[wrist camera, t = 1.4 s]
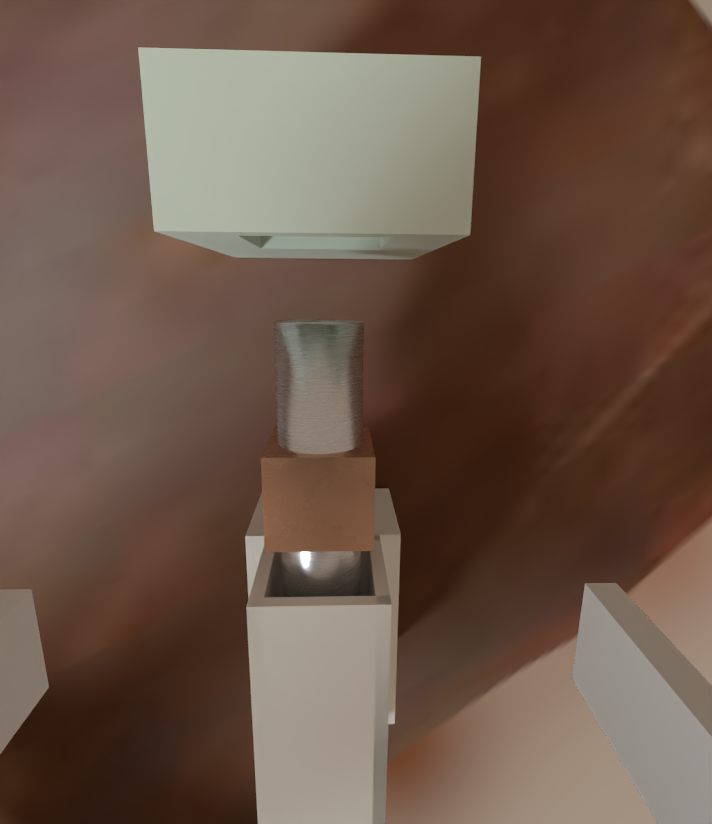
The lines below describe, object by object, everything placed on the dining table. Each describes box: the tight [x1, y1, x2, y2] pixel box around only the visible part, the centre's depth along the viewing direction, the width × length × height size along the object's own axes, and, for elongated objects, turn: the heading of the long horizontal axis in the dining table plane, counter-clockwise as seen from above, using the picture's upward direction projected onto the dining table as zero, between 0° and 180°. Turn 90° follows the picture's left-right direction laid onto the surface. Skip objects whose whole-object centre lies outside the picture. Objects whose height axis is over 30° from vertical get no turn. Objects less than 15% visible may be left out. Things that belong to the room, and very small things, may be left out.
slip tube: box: [261, 320, 376, 597], centre depth 22 cm, size 19×4×4 cm, turn 0°
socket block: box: [138, 48, 481, 259], centre depth 21 cm, size 5×10×13 cm, turn 90°
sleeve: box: [245, 488, 401, 824], centre depth 27 cm, size 12×8×12 cm, turn 0°
